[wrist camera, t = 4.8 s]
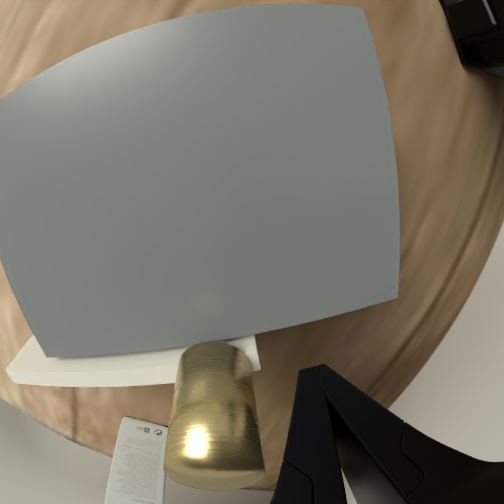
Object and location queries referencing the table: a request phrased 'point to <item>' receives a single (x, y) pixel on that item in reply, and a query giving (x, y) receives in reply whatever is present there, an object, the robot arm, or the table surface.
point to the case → (201, 182)
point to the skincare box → (138, 464)
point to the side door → (178, 402)
